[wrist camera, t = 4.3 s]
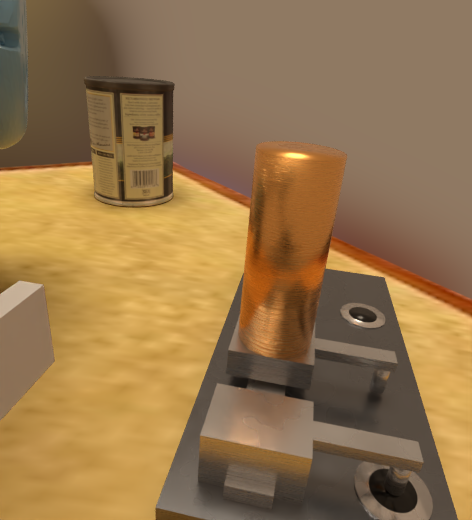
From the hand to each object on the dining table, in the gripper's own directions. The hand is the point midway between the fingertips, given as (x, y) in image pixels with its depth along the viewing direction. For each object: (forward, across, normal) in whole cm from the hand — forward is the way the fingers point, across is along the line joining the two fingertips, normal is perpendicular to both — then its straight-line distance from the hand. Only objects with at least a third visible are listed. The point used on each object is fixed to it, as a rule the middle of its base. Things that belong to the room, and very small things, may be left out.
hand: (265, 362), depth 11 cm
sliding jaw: (+10, +2, -8) cm, 13 cm away
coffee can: (+41, -22, -10) cm, 47 cm away
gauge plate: (+13, +2, -10) cm, 16 cm away
